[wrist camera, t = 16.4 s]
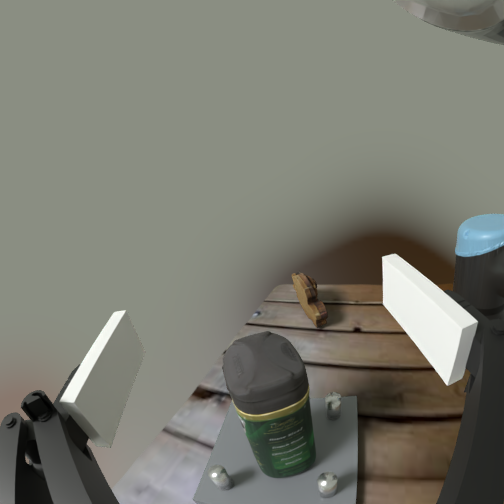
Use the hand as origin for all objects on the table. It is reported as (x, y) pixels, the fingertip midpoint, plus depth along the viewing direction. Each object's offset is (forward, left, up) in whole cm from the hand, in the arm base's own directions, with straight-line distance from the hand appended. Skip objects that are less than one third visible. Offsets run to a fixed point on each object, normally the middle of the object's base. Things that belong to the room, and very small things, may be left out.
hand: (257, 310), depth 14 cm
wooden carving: (-41, -22, -31) cm, 55 cm away
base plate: (-7, -8, -31) cm, 32 cm away
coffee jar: (-7, -7, -29) cm, 31 cm away
